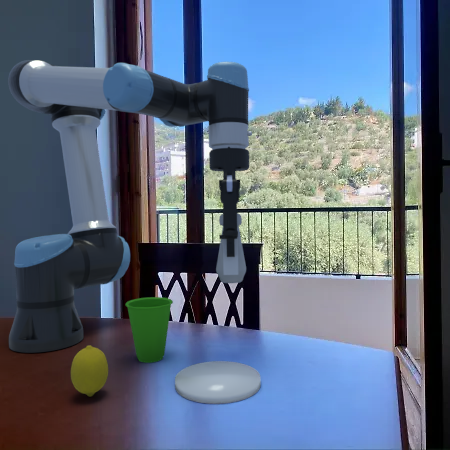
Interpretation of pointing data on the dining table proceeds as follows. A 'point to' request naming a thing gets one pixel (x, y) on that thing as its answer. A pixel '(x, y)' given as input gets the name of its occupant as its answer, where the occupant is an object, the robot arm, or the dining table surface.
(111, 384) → the dining table surface
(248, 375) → the ceramic plate
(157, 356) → the cup
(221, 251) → the salt shaker
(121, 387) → the dining table surface
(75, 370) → the lemon
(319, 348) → the dining table surface
